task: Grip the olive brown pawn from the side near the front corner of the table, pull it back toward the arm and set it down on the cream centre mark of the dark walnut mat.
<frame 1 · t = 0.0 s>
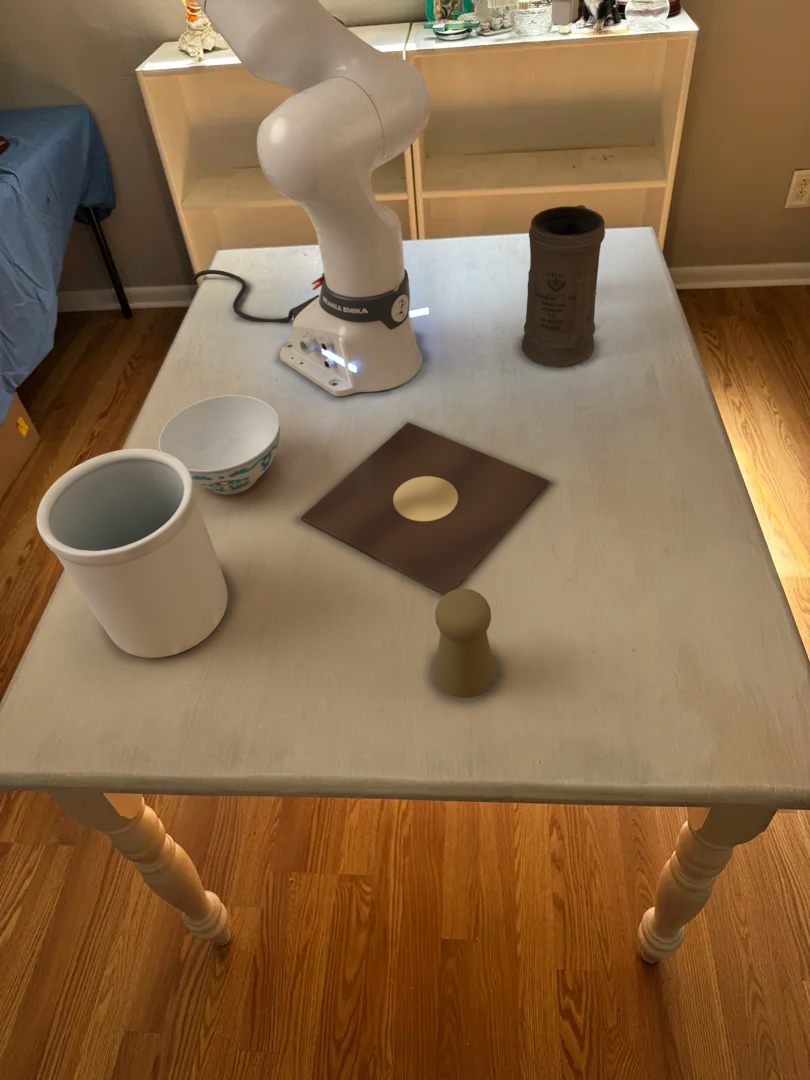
hand: (590, 8, 70), 48 cm above the table, tool pointing down, fingers open, 8 cm apart
utensil holder: (168, 611, 88), on the table
mat: (425, 501, 97), on the table
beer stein: (558, 340, 120), on the table
chinaware: (233, 478, 103), on the table
olive brown pawn: (464, 672, 80), on the table
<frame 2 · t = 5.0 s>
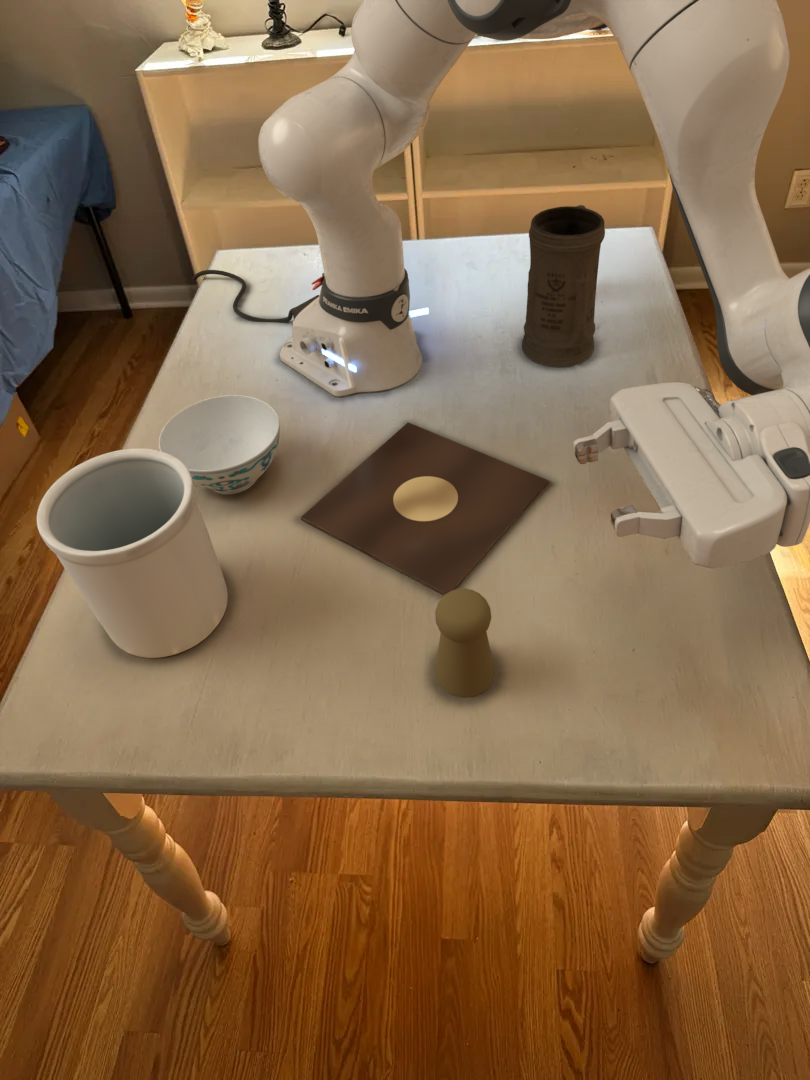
hand: (593, 486, 65), 22 cm above the table, tool horizontal, fingers open, 8 cm apart
nothing on the table moved.
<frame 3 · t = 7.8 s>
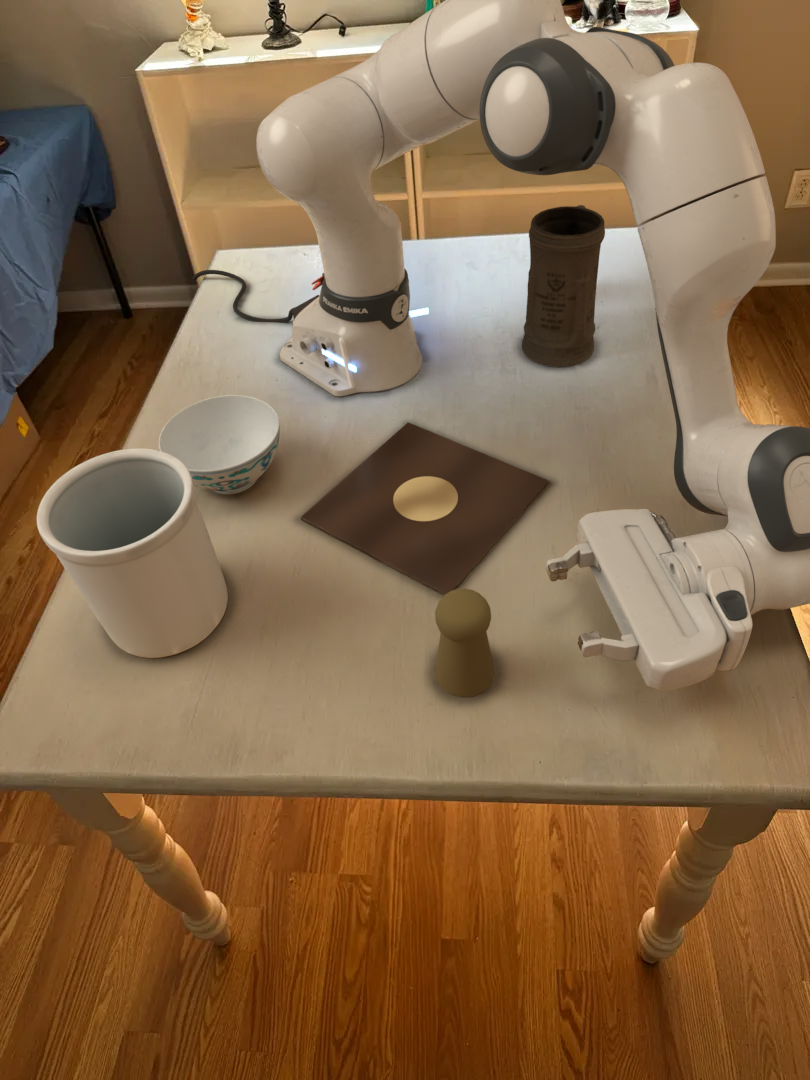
hand: (563, 607, 75), 7 cm above the table, tool horizontal, fingers open, 8 cm apart
nothing on the table moved.
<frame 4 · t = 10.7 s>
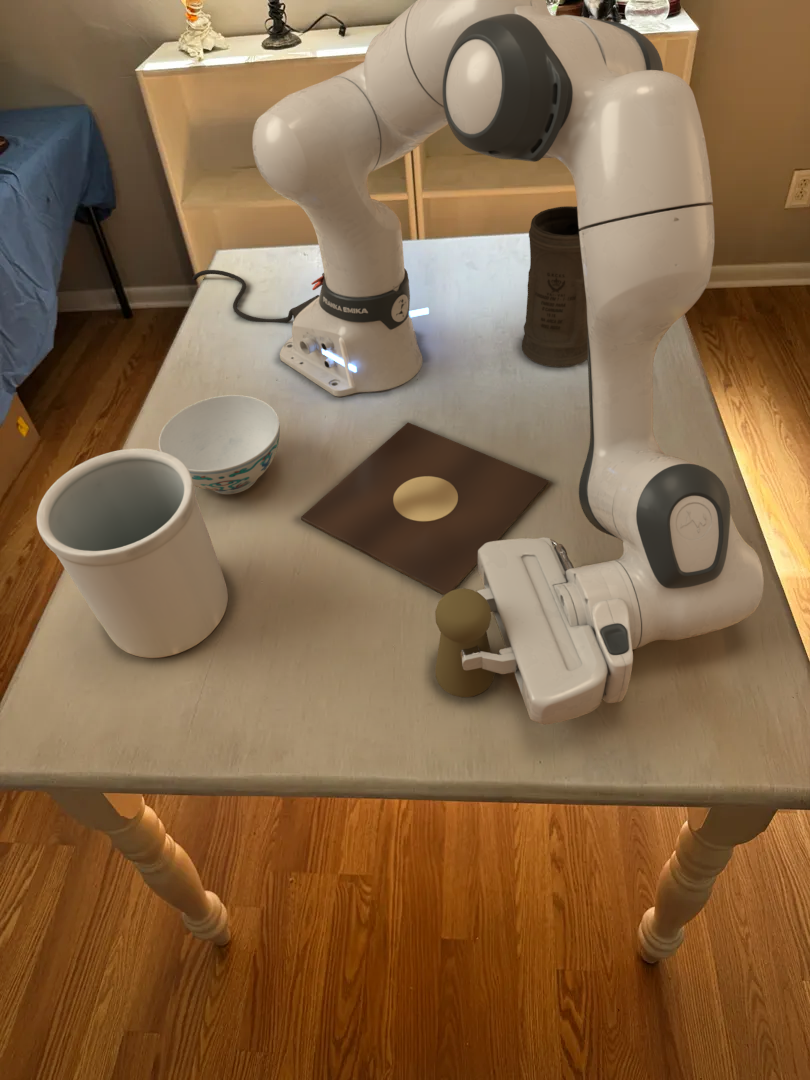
hand: (454, 638, 75), 6 cm above the table, tool horizontal, fingers closed on olive brown pawn, 4 cm apart
olive brown pawn: (464, 672, 80), on the table, touching gripper
everything else where it was.
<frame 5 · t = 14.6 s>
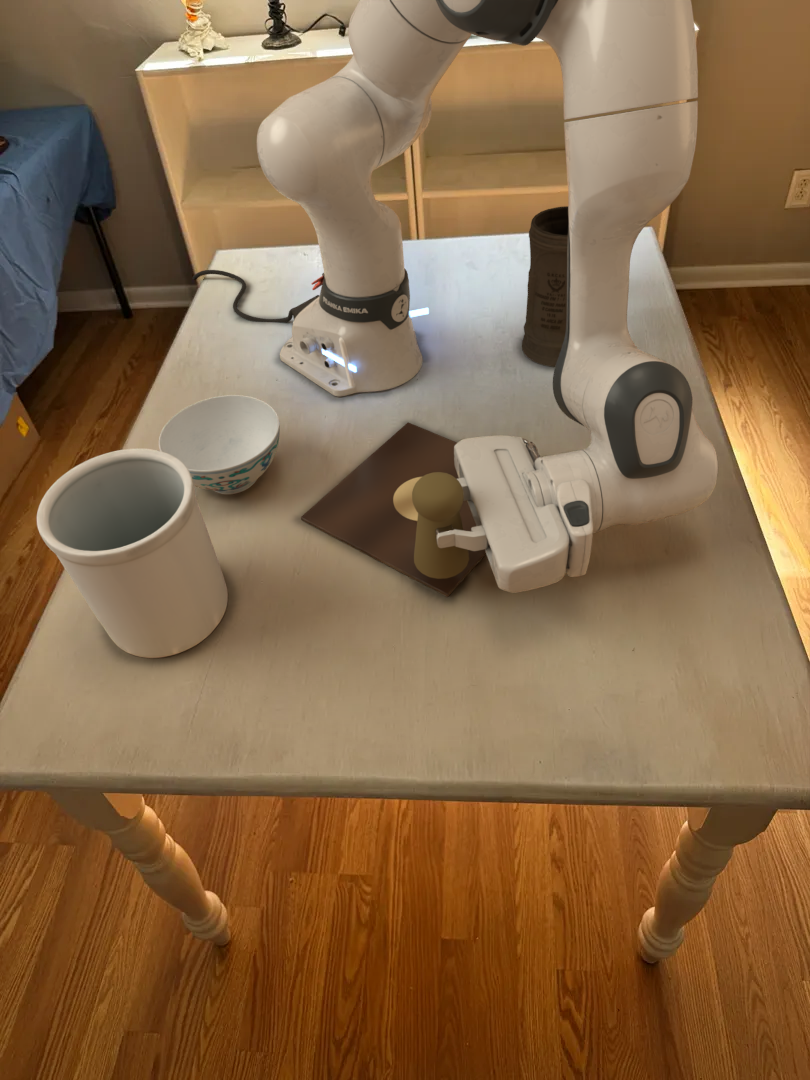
hand: (430, 520, 81), 10 cm above the table, tool horizontal, fingers closed on olive brown pawn, 4 cm apart
olive brown pawn: (441, 558, 85), point 4 cm above the table, touching gripper
everything else where it was.
when the fingers open (7 cm above the table, at t = 18.8 s): olive brown pawn stays where it is, resting on mat.
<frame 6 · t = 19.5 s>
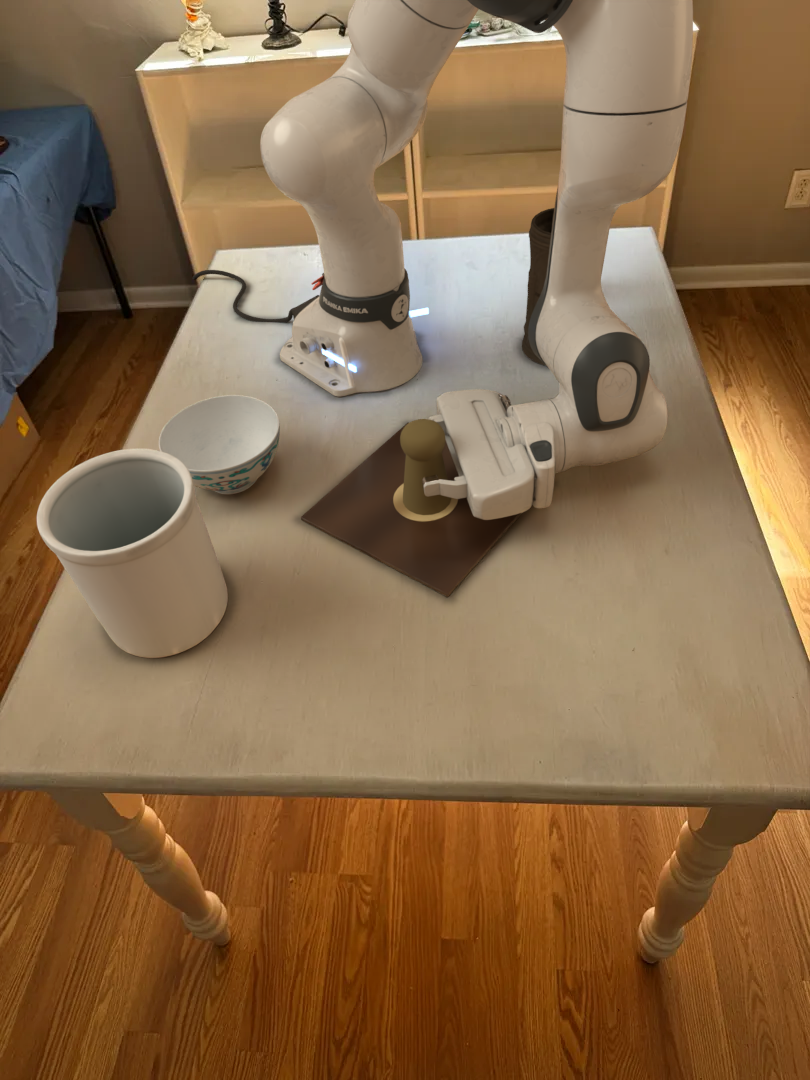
hand: (415, 461, 92), 7 cm above the table, tool horizontal, fingers open, 8 cm apart
olive brown pawn: (427, 499, 97), resting on mat
everything else where it was.
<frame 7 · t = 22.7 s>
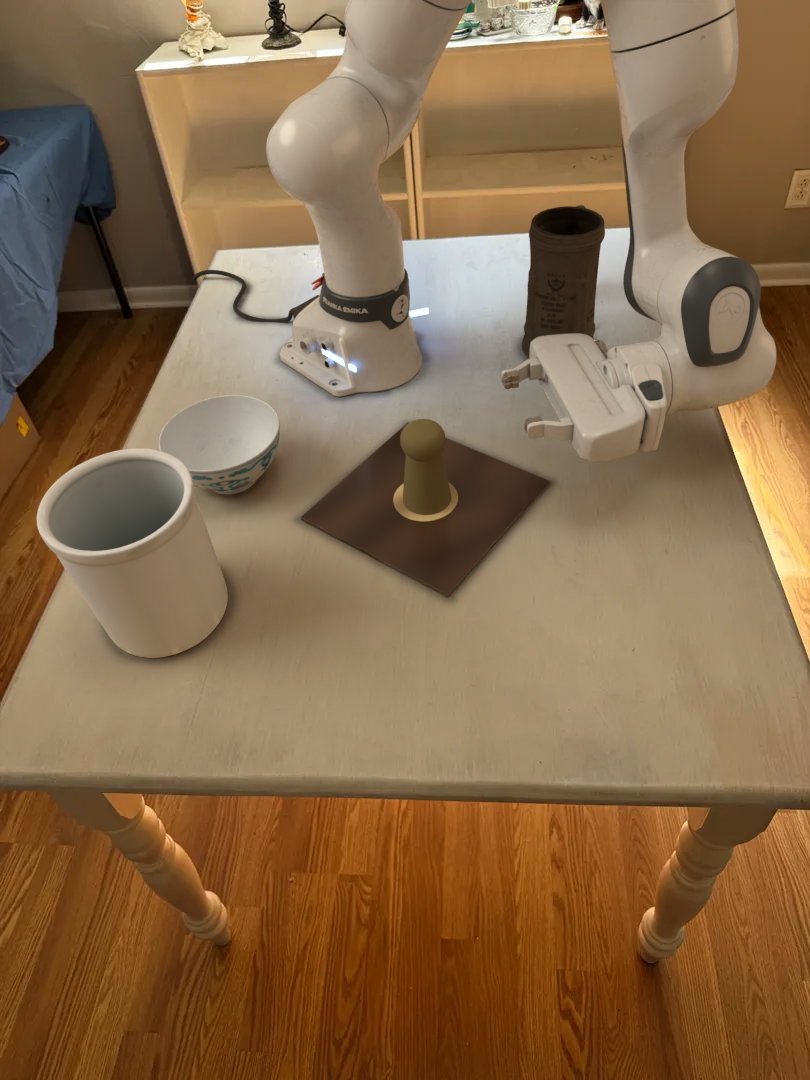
hand: (513, 403, 89), 13 cm above the table, tool horizontal, fingers open, 8 cm apart
nothing on the table moved.
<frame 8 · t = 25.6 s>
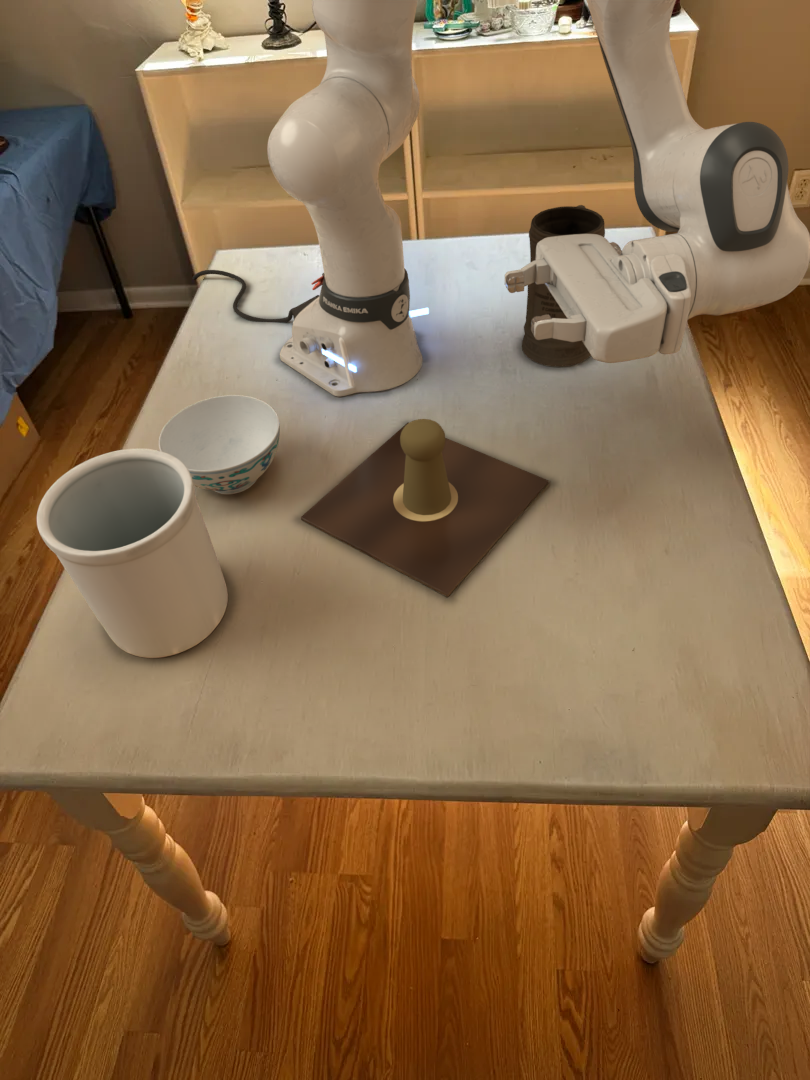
hand: (519, 305, 80), 25 cm above the table, tool horizontal, fingers open, 8 cm apart
nothing on the table moved.
at the end: olive brown pawn inside the target area on the mat (0.1 cm from its centre), point 0.4 cm above the mat's base; olive brown pawn tilted 0°; the gripper is holding nothing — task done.
